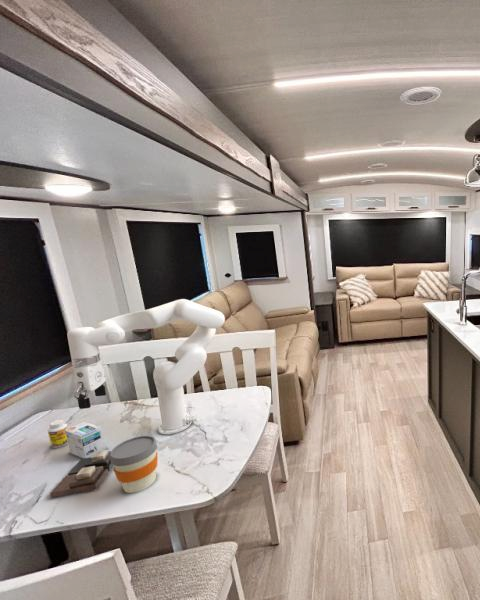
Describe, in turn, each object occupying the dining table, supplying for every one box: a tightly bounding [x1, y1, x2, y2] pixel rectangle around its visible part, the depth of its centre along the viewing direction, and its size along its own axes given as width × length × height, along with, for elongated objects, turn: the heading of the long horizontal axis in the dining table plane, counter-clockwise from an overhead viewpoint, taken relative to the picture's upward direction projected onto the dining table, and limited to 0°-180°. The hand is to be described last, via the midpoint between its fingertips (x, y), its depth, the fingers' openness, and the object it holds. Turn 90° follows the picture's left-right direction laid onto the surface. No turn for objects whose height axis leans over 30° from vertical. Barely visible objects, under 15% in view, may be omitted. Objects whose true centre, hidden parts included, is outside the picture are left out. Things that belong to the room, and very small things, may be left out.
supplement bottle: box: [47, 419, 69, 448], centre depth 131 cm, size 6×6×10 cm
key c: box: [91, 449, 109, 462], centre depth 119 cm, size 4×4×2 cm
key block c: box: [67, 450, 114, 476], centre depth 119 cm, size 12×8×4 cm, turn 109°
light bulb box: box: [65, 421, 106, 459], centre depth 127 cm, size 11×7×11 cm, turn 71°
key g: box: [76, 466, 96, 480], centre depth 111 cm, size 4×4×2 cm
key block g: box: [50, 466, 109, 499], centre depth 111 cm, size 12×8×4 cm, turn 109°
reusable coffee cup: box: [110, 435, 158, 494], centre depth 111 cm, size 13×13×15 cm
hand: (93, 401), depth 121 cm, fingers open, 9 cm apart
